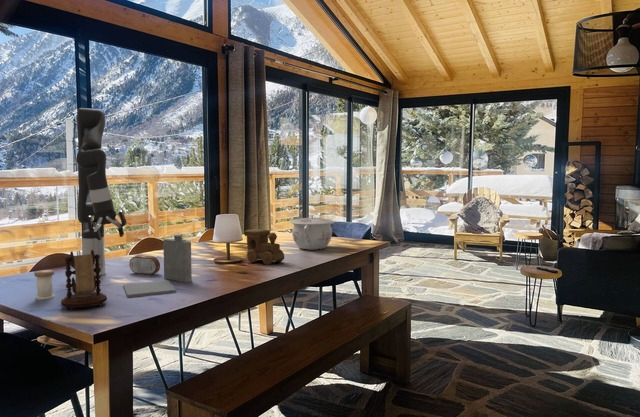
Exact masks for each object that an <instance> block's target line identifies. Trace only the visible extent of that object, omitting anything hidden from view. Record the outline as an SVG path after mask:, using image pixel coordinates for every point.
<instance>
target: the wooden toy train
mask: <svg viewBox="0 0 640 417" xmlns="http://www.w3.org/2000/svg"><path fill="white" fill-rule="evenodd" d="M244 237H246V245H247V246H246V247H247V251H246V258H247V260H248V261H249V262H250V263H256V262H257V261H258V260H261V261H262V262H263V264H265V265H267V266H270V265H271V264H273V262H276V263H282V262H283V261H284V260H285V254H284V251H283V250H282V249H281V246H280V243H276V240H277V239H278V236H277V234H276V233H275V232H271V230H269V229H262V228H256V229H255V228H252V229H247V230H244ZM269 241H270V242H269Z"/></svg>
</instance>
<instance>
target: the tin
mask: <svg viewBox="0 0 640 417" xmlns="http://www.w3.org/2000/svg"><path fill="white" fill-rule="evenodd" d="M129 268H130V270H131V272H133V273H134V274H141V275H143V274H144V275H155V274H157V273H158V272H160V270H161V264H160V261H159V259H158V258H157V257H156V256H152V255H142V254H138V255H135V256H133V257H131V259H129Z"/></svg>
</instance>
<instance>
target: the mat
mask: <svg viewBox="0 0 640 417" xmlns="http://www.w3.org/2000/svg"><path fill="white" fill-rule="evenodd" d="M122 286H123V290H124V292H125V294H126V298H135V297H144V296H145V297H146V296H153V295H154V296H155V295H163V294H171V293H176V292H177V290H176V288H175V287H174V286H173V284H172V283H171V282H170V280H169V279H166V280H157V281H156V280H155V281H148V282H137V283H135V282H134V283H126V284H123V285H122Z"/></svg>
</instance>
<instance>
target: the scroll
mask: <svg viewBox="0 0 640 417" xmlns="http://www.w3.org/2000/svg"><path fill="white" fill-rule="evenodd" d="M69 253H70V254H69V256H67V257H65V259H64V261H65V265H66V266H65V272H64V274H65V276H66V280H65V282H66V285H65V287H66V291H67V292H66V296H65V297H64V298H62V299H61V300H60V305H61V306H62V307H65V308H69V309H70V311H71V312H74V310H75V308H85V307H92V306H97V305H99V306H100V307H103V306H104V303H105V302H106V301H108V298H107V295H106V294H104V293H102V291H101V283H102V281H101V280H100V279H101V275H99V273H100V271H101V269H100V267H99V266H100V264H99V261H100V260H98V259H100V255H98V254H96V255H95V254H94V251H93V250H91V254H87V255H83V254H79V255H74V252H73V250H72V251H70V252H69ZM95 259H96V260H95ZM95 261H96V263H95ZM94 264H95V266H96V267H95V268H93V265H94ZM71 268H73V269H74V270H73V271H72V270H71ZM94 272H96V276H95V275H94ZM73 275H74V276H73ZM72 276H73V277H72ZM71 277H72V278H71Z"/></svg>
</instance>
